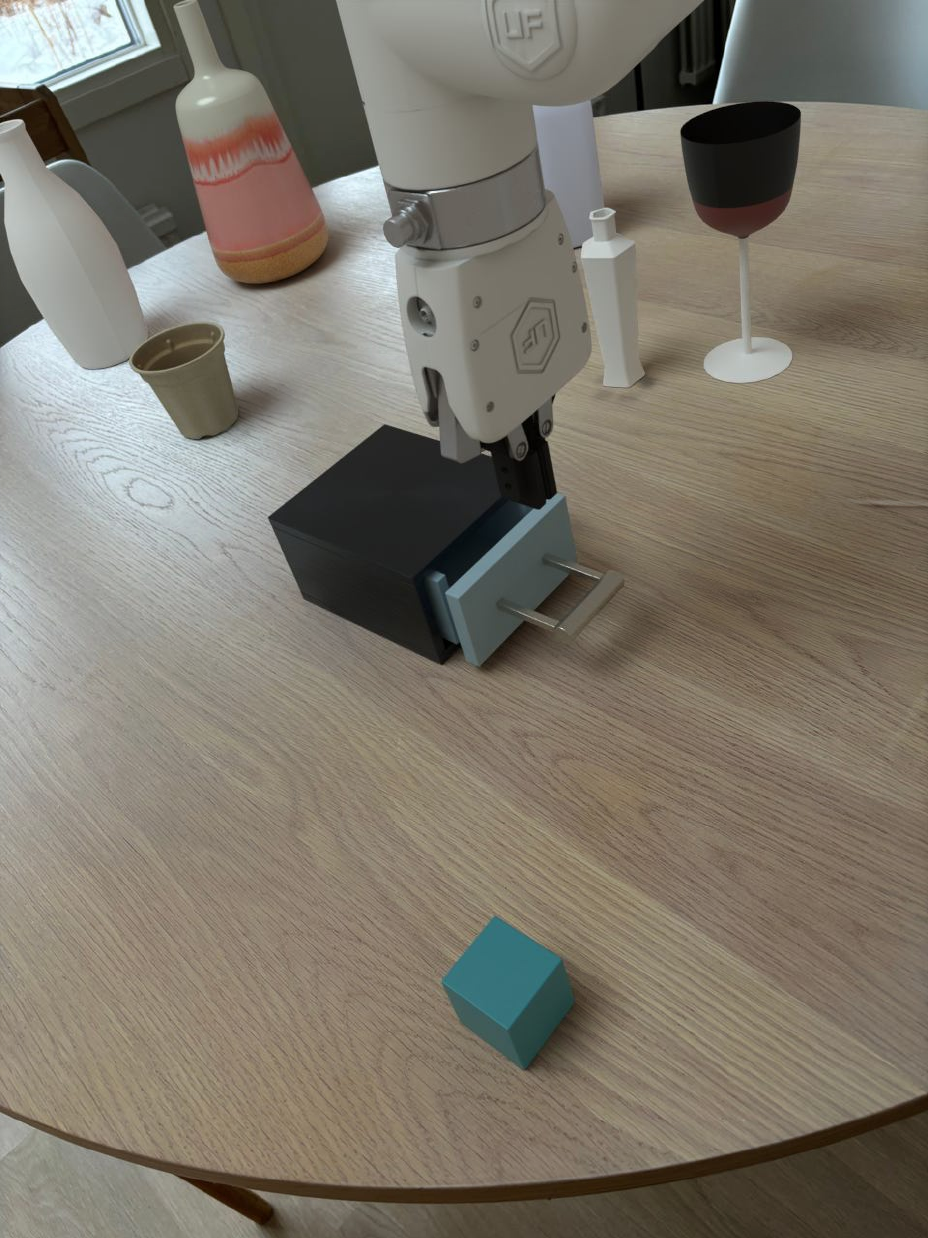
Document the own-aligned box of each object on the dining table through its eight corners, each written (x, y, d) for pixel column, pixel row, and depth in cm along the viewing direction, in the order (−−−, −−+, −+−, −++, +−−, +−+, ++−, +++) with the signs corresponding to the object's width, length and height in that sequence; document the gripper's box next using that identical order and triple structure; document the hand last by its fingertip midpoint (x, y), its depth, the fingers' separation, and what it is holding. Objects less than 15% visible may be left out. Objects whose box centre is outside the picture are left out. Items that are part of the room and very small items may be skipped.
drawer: (652, 591, 69) (643, 519, 65) (553, 702, 64) (536, 631, 60) (441, 515, 81) (422, 449, 76) (342, 603, 75) (316, 538, 71)
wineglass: (705, 336, 93) (690, 108, 80) (804, 334, 90) (806, 95, 76) (689, 384, 88) (670, 149, 75) (793, 383, 85) (794, 136, 71)
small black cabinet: (550, 556, 75) (531, 468, 70) (441, 665, 70) (411, 578, 64) (410, 505, 84) (384, 423, 79) (303, 599, 78) (267, 517, 73)
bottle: (56, 383, 116) (-69, 158, 99) (82, 337, 125) (-30, 122, 108) (147, 364, 115) (35, 132, 98) (167, 318, 123) (67, 97, 106)
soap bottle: (533, 227, 119) (494, 9, 104) (591, 211, 119) (561, -10, 103) (547, 257, 112) (509, 29, 97) (609, 240, 112) (580, 9, 97)
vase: (204, 297, 125) (94, 34, 105) (256, 244, 134) (164, -8, 115) (306, 291, 120) (211, 12, 100) (352, 236, 129) (273, -29, 109)
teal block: (576, 1001, 50) (562, 958, 47) (525, 1071, 48) (507, 1031, 46) (511, 958, 53) (494, 914, 50) (460, 1022, 51) (439, 981, 48)
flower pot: (193, 397, 107) (159, 322, 101) (271, 395, 103) (240, 317, 97) (149, 449, 100) (110, 373, 95) (229, 449, 97) (194, 370, 91)
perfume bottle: (586, 378, 92) (561, 217, 82) (626, 358, 93) (606, 197, 83) (614, 397, 89) (592, 232, 79) (655, 376, 90) (638, 211, 80)
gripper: (422, 279, 43) (500, 591, 56) (618, 138, 50) (649, 444, 63) (307, 257, 48) (403, 551, 60) (502, 130, 55) (553, 418, 67)
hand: (529, 496), depth 61 cm, fingers closed
